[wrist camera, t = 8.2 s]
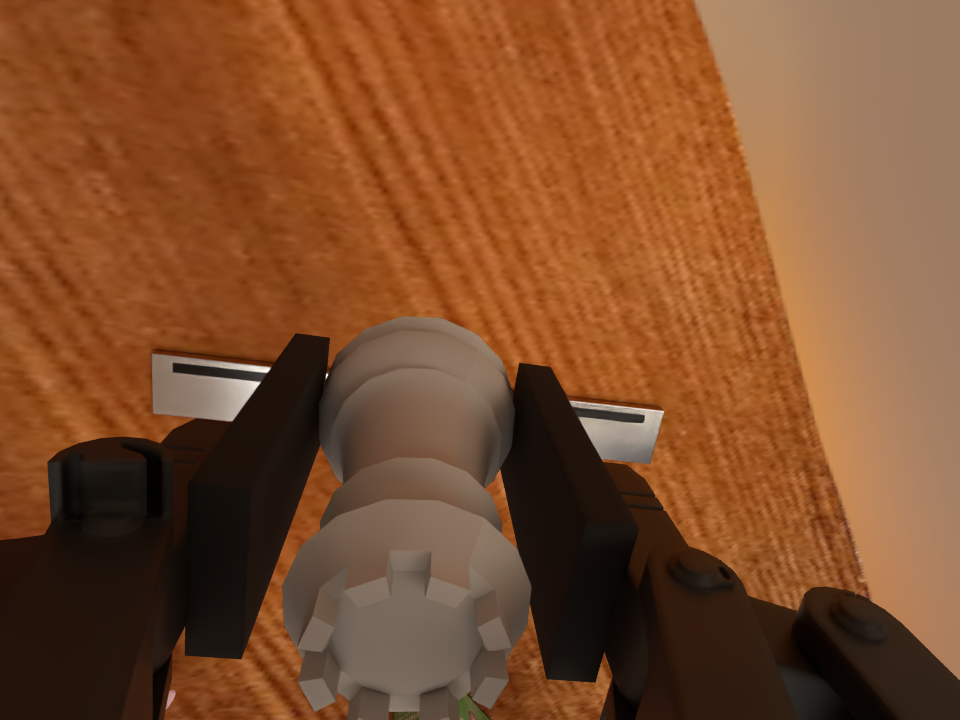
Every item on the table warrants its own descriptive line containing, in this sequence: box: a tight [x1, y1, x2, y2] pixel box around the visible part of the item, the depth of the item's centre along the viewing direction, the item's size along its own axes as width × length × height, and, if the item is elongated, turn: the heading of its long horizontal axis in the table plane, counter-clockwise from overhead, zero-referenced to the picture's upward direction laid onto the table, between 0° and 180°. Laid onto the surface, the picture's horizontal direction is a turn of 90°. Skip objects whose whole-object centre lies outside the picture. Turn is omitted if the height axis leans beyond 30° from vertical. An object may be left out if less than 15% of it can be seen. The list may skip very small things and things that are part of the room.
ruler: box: [152, 350, 664, 464], centre depth 32 cm, size 26×3×1 cm, turn 81°
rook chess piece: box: [282, 316, 531, 720], centre depth 11 cm, size 4×4×8 cm
